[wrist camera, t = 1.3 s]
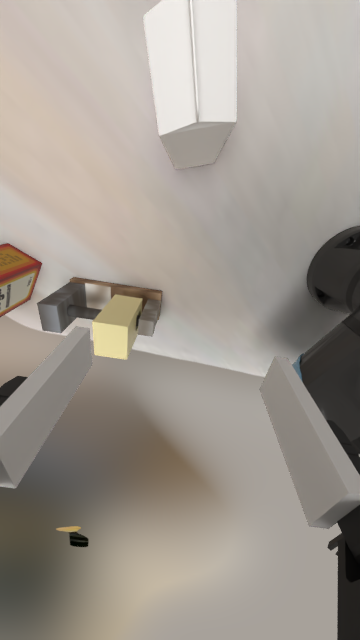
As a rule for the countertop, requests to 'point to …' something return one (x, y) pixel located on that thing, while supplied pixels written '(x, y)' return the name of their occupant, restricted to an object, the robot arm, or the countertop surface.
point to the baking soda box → (16, 277)
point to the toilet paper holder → (95, 304)
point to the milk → (193, 76)
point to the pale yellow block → (116, 327)
